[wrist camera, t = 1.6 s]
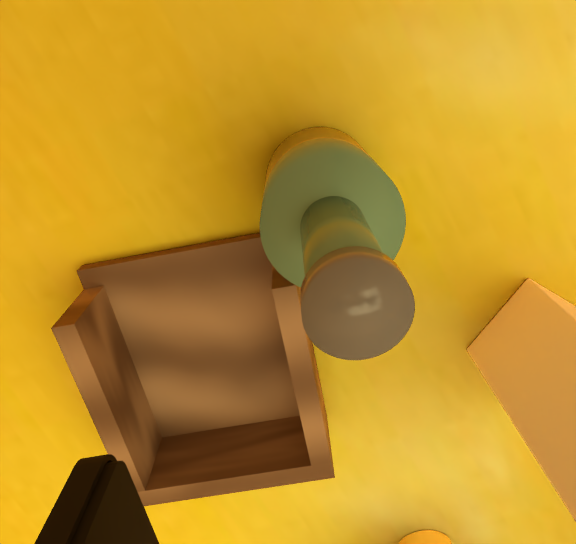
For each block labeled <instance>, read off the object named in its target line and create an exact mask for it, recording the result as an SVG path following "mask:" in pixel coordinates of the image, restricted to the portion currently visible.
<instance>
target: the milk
mask: <svg viewBox="0 0 576 544" xmlns="http://www.w3.org/2000/svg"><path fill="white" fill-rule="evenodd" d="M467 352H468V353H469V355H470V356H471V358H472V360H473V361H474V363H475V364H476V366H477V367H478V369H479V371H480V372H481V374H482V375H483V377H484V378H485V380H486V382H487V383H488V385H489V386H490V388H491V389H492V391H493V393H494V394H495V396H496V397H497V399H498V400H499V402H500V404H501V405H502V407H503V408H504V410H505V411H506V413H507V415H508V416H509V418H510V419H511V421H512V422H513V424H514V426H515V427H516V429H517V430H518V432H519V433H520V435H521V437H522V438H523V440H524V441H525V443H526V444H527V446H528V448H529V449H530V451H531V452H532V454H533V455H534V457H535V459H536V460H537V462H538V463H539V465H540V466H541V468H542V470H543V471H544V473H545V474H546V476H547V477H548V479H549V481H550V482H551V484H552V485H553V487H554V488H555V490H556V492H557V493H558V495H559V496H560V498H561V499H562V501H563V503H564V504H565V506H566V507H567V509H568V510H569V512H570V514H571V515H572V517H573V518H574V520H575V521H576V306H574V305H573V304H571V303H569V302H568V301H566V300H564V299H563V298H561V297H559V296H558V295H556V294H555V293H553V292H551V291H550V290H548V289H546V288H545V287H543V286H541V285H540V284H538V283H536V282H535V281H533V280H531V279H529V278H528V279H527V280H526V281H525V282H524V283H523V284H522V285H521V287H520V288H519V289H518V290H517V291H516V292H515V294H514V295H513V296H512V297H511V298H510V299H509V301H508V302H507V303H506V304H505V305H504V306H503V308H502V309H501V310H500V311H499V312H498V313H497V314H496V316H495V317H494V318H493V319H492V320H491V321H490V323H489V324H488V325H487V326H486V327H485V328H484V330H483V331H482V332H481V333H480V334H479V335H478V337H477V338H476V339H475V340H474V341H473V342H472V344H471V345H470V346H469V347H468V348H467Z"/></svg>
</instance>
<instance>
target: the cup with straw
mask: <svg viewBox="0 0 576 544" xmlns="http://www.w3.org/2000/svg"><path fill="white" fill-rule="evenodd" d="M398 544H452V543H451V540H450V539H449V538H448V537H447V536H446V535H445V534H443V533H441V532H438V531H433V530H422V531H417V532H414V533H411V534H409V535H407V536H405V537H404V538H403V539H402V540H401V541H400V542H399V543H398Z"/></svg>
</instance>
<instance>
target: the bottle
mask: <svg viewBox="0 0 576 544" xmlns="http://www.w3.org/2000/svg"><path fill="white" fill-rule="evenodd" d="M405 225H406V217H405V209H404V204H403V201H402V198H401V195H400V193H399V191H398V189H397V188H396V186H395V185H394V183H393V182H392V180H391V179H390V178H389V177H388V176H387V175H386V174H385V172H384V171H383V170H382V169H381V168H380V167H379V166H378V165H377V164H376V163H375V161H374V160H373V159H372V158H371V157H370V156H369V155H368V154H367V153H366V152H365V150H364V149H363V148H362V147H361V146H360V145H359V144H358V143H357V142H356V141H355V140H354V139H353V138H352V137H351V136H349V135H347V134H346V133H344V132H342V131H339V130H337V129H333V128H328V127H312V128H307V129H303V130H301V131H298V132H296V133H294V134H293V135H291V136H289V137H288V138H287V139H285V140H284V141H283V142H282V143H281V144H280V145H279V146H278V148H277V149H276V150H275V152H274V154H273V155H272V157H271V159H270V162H269V164H268V168H267V173H266V181H265V188H264V195H263V202H262V210H261V217H260V236H261V242H262V245H263V248H264V251H265V253H266V255H267V258H268V259H269V261H270V262H271V264H272V265H273V267H274V268H275V269H276V270H277V271H278V272H279V273H280V274H281V275H282V276H283V277H284V278H285V279H287V280H288V281H290V282H291V283H293V284H295V285H297V286H298V287H301V291H300V304H301V316H302V323H303V327H304V329H305V332H306V334H307V335H308V337H309V339H310V340H311V341H312V342H313V343H314V345H316V346H317V347H318V348H319V349H320V350H322V351H323V352H325V353H327V354H329V355H331V356H334V357H337V358H341V359H346V360H363V359H369V358H373V357H376V356H379V355H381V354H383V353H385V352H387V351H388V350H390V349H392V348H393V347H394V346H395V345H397V344H398V343H399V342H400V341H401V340H402V339H403V337H404V336H405V335H406V333H407V332H408V330H409V328H410V326H411V324H412V321H413V317H414V311H415V302H414V296H413V293H412V290H411V288H410V286H409V284H408V283H407V281H406V279H405V277H404V275H403V274H402V272H401V270H400V268H399V267H398V266H397V264H396V263H395V262H394V261H393V260H394V258H395V257H396V255H397V253H398V251H399V249H400V247H401V244H402V241H403V237H404V233H405Z"/></svg>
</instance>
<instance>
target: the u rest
mask: <svg viewBox="0 0 576 544" xmlns="http://www.w3.org/2000/svg"><path fill="white" fill-rule="evenodd" d="M77 273H78V275H79V278H80V280H81V283H82V285H83V288H84V290H83V291H82V293H81V294H80V295H79V296H78V297H77V298H76V300H75V301H74V302H73V303H72V304H71V306H70V307H69V308H68V309H67V310H66V311H65V313H64V314H63V315H62V316H61V317H60V319H59V320H58V321H57V322H56V323H55V324H54V326H53V327H52V328H51V329H52V331H53V333H54V335H55V338H56V340H57V342H58V344H59V346H60V349H61V351H62V353H63V355H64V358H65V360H66V362H67V364H68V366H69V369H70V371H71V373H72V375H73V378H74V380H75V382H76V384H77V386H78V389H79V391H80V393H81V395H82V398H83V400H84V402H85V404H86V406H87V409H88V411H89V413H90V415H91V418H92V420H93V422H94V424H95V426H96V429H97V431H98V433H99V435H100V438H101V440H102V442H103V444H104V446H105V449H106V451H107V453H108V454H112V455H113V456H115V458H116V460H117V461H123V462H125V464H126V466H127V468H128V471H129V473H130V475H131V478H132V480H133V482H134V485H135V487H136V490H137V492H138V494H139V497H140V499H141V502H142V504H143V506H148V505H155V504H162V503H168V502H175V501H182V500H188V499H195V498H202V497H208V496H215V495H222V494H228V493H235V492H242V491H248V490H255V489H262V488H268V487H275V486H282V485H288V484H295V483H302V482H308V481H315V480H322V479H328V478H335V476H334V468H333V461H332V453H331V445H330V437H329V430H328V422H327V415H326V410H325V405H324V400H323V395H322V390H321V385H320V380H319V375H318V370H317V364H316V359H315V354H314V349H313V344H312V341H311V340H310V339H309V337H308V335H307V334H306V332H305V329H304V327H303V323H302V316H301V304H300V291H301V287H298V286H297V285H295V284H293V283H291V282H290V281H288V280H287V279H285V278H284V277H283V276H282V275H281V274H280V273H279V272H278V271H277V270H276V269H275V268H274V267H273V265H272V264H271V262H270V261H269V259H268V258H267V255H266V253H265V251H264V248H263V245H262V242H261V236H260V233H256V234H250V235H245V236H239V237H234V238H228V239H223V240H218V241H212V242H207V243H201V244H196V245H190V246H185V247H180V248H174V249H169V250H163V251H158V252H152V253H147V254H141V255H136V256H131V257H125V258H120V259H114V260H109V261H103V262H98V263H92V264H87V265H82V266H81V267H80V268H79V269H78V270H77Z"/></svg>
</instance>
